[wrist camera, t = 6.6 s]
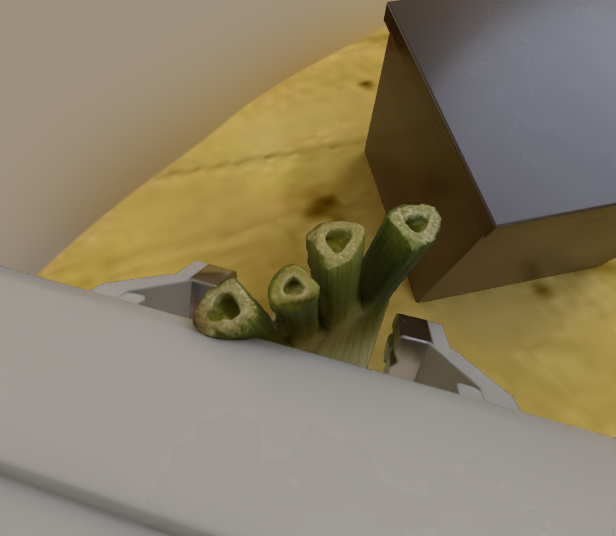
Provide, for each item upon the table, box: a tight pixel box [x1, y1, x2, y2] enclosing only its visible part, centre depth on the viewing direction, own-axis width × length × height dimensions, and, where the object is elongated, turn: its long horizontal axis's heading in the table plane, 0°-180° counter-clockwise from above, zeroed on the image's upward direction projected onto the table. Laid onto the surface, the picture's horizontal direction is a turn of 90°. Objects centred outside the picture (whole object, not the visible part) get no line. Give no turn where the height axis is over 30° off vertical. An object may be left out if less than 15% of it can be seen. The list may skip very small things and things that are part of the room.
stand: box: [365, 0, 616, 303], centre depth 17 cm, size 12×12×9 cm
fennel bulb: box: [193, 204, 442, 368], centre depth 12 cm, size 6×5×12 cm
